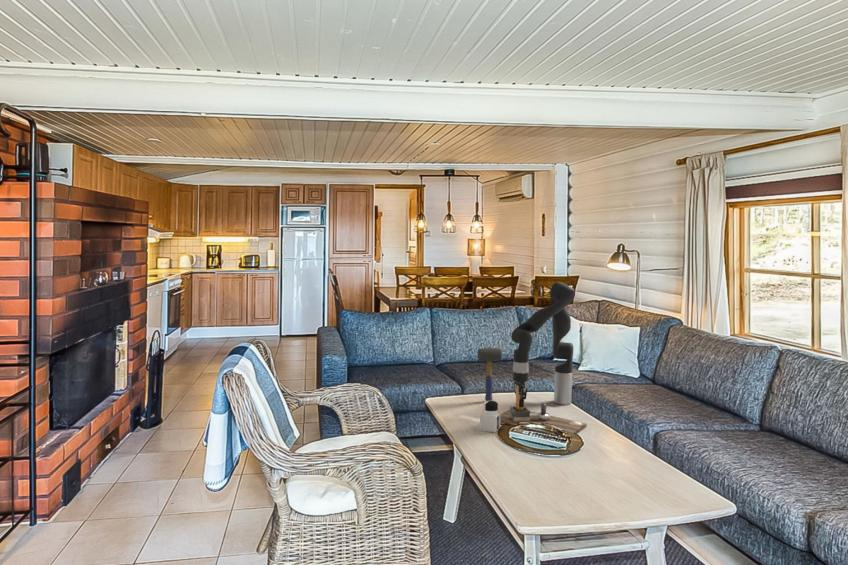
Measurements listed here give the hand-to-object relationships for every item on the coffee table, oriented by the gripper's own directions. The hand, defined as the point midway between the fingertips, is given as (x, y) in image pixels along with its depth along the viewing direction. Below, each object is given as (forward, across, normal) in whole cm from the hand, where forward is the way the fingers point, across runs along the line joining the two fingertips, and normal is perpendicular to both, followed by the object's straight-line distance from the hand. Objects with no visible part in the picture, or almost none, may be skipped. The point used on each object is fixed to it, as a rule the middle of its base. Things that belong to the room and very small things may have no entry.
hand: (519, 405), depth 258 cm
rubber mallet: (+9, -35, -6) cm, 37 cm away
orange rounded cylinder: (+4, 0, 0) cm, 4 cm away
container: (+9, +7, -16) cm, 20 cm away
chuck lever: (+7, 0, +6) cm, 9 cm away
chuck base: (+9, +3, +8) cm, 12 cm away
